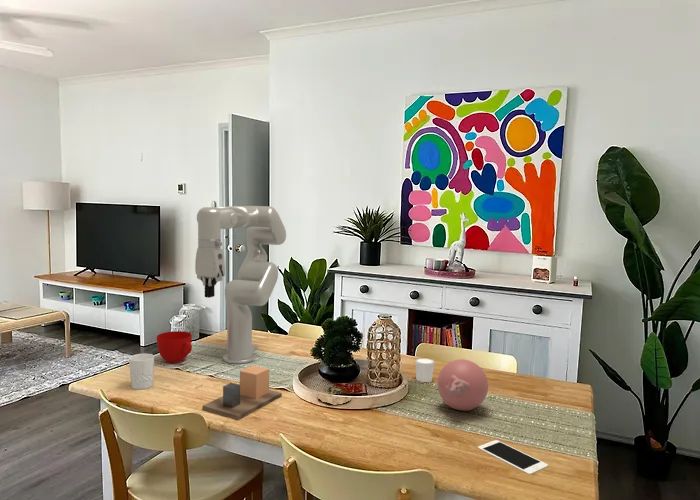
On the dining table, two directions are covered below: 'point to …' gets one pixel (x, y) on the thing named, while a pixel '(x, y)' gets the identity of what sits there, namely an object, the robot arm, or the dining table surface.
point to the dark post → (231, 395)
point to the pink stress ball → (462, 384)
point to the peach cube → (254, 381)
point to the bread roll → (332, 390)
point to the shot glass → (424, 369)
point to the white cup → (141, 370)
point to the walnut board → (241, 405)
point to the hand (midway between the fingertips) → (209, 296)
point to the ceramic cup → (174, 345)
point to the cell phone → (513, 457)
